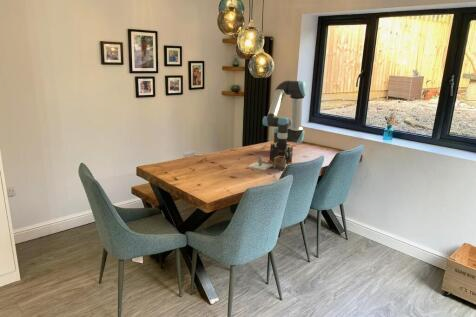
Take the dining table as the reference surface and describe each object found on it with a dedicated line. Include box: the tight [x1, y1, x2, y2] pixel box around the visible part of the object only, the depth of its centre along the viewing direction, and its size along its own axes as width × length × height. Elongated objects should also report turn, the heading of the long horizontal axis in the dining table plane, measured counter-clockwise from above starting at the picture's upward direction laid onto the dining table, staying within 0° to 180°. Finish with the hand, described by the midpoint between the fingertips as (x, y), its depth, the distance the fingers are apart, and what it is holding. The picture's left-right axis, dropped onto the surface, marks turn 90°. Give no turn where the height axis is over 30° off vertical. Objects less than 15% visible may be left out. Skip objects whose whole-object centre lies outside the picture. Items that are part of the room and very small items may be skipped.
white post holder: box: [247, 155, 273, 172], centre depth 281 cm, size 14×14×9 cm
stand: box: [273, 165, 286, 172], centre depth 279 cm, size 7×7×3 cm
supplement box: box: [269, 142, 294, 166], centre depth 293 cm, size 10×15×16 cm
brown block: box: [273, 156, 286, 167], centre depth 278 cm, size 8×8×6 cm
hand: (280, 166), depth 279 cm, fingers closed on brown block, 8 cm apart
